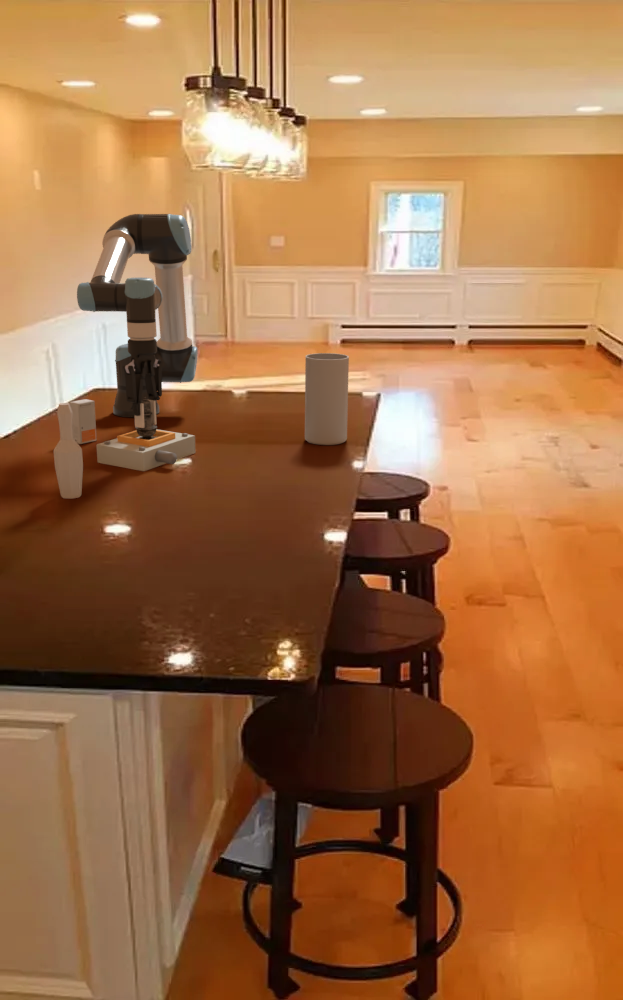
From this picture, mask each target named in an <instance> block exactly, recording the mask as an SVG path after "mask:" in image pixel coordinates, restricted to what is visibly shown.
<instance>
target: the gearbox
mask: <svg viewBox="0 0 623 1000" xmlns="http://www.w3.org/2000/svg"><path fill="white" fill-rule="evenodd" d="M140 437H142V436H140V435H139V434H138V433H137V429H135V430H133V431H132V430H131V431H130V432H126V433H122V434H119V435H117V436H116V438H114V439H111V440H105V441H103V442H101V443H97V444H96V445H95V446H96V457H97V463H98V464H99V463H100V464H102V465H108V466H114V467H120V468H124V469H125V468H126V469H129V470H130V469H131V470H136V471H140V472H146V471H149V470H152V469H155V468H157V467H159V466H163V465H166V464H170V465H175V464H176V462H177V461H178V460H179V459H181V458H185V457H187V456H191V455H193V454H196V452H197V451H196V435H193V434H189V433H186V432H184V433H181V432H175V431H168V430H163V429H158V428H156V433H155V434H154V435H153V436H152V437H155V438H154V439H150V440H145V439H140Z"/></svg>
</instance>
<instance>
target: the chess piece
mask: <svg viewBox="0 0 623 1000" xmlns="http://www.w3.org/2000/svg"><path fill="white" fill-rule="evenodd" d="M141 403H143V404H144V424H145V428H139V427H135V426H134V429H135V430H137V433H138V434H139V435H140V436H142V437H140V439H145V440H150V439H154V438H155V437H152V436H153V435H154V434H155V433H156V429H158V426H157V425H156V424H155V425H154V424H152V419H151V414H152V412H151V403H150V401H149V400H147V399H146V397H144V399H143V400H142V401H141Z"/></svg>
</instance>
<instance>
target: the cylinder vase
mask: <svg viewBox="0 0 623 1000" xmlns="http://www.w3.org/2000/svg"><path fill="white" fill-rule="evenodd" d="M349 359H350V356H349V355H346V354H343V353H342V354H341V353H331V352H329V353H328V352H323V353H322V352H318V353H310V354H306V355H305V365H304V366H305V373H304V375H305V379H304V381H305V384H304V398H305V399H304V439H305V441H307V443H309V444H313V445H316V446H317V445H319V446H320V445H321V446H335V445H340V444H343V443H345V442H346V441H347V439H348V407H349V405H348V404H349V372H350V371H349V367H350V363H349V362H350V360H349Z"/></svg>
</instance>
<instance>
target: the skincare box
mask: <svg viewBox="0 0 623 1000" xmlns="http://www.w3.org/2000/svg"><path fill="white" fill-rule="evenodd" d="M68 403H69V404H70V407H71V409H72V412H73V420H72V427H73V439H74V440H75V441H76V442H77V443H78V445H82V444H88V443H91V442H92V443H93V442H96V441H97V425H96V405H95V400H91V399H88V398H87V399H86V398H85V399H78V400H73V401H70V402H68Z"/></svg>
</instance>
